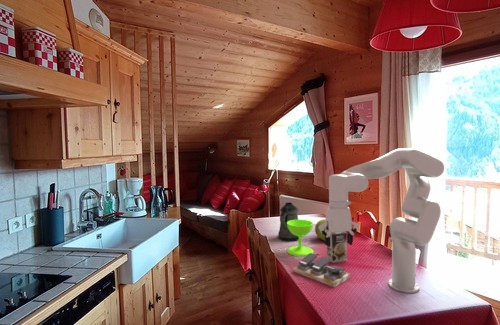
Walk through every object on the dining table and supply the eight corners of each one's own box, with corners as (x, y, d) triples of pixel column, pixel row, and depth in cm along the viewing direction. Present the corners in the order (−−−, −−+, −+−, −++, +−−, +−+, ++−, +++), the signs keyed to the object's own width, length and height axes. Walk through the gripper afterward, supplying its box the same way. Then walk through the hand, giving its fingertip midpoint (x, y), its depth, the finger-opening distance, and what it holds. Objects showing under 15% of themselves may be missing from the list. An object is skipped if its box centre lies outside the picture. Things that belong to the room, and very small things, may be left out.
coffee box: (332, 263, 162) (332, 234, 161) (326, 259, 168) (326, 231, 167) (347, 261, 165) (347, 232, 164) (340, 257, 171) (340, 229, 170)
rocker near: (336, 268, 147) (336, 265, 147) (344, 270, 144) (344, 268, 144) (325, 268, 141) (325, 266, 141) (333, 271, 137) (333, 269, 137)
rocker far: (310, 254, 159) (309, 252, 159) (317, 256, 156) (316, 254, 155) (299, 264, 153) (298, 262, 152) (306, 266, 149) (305, 264, 149)
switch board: (310, 263, 162) (309, 254, 162) (350, 277, 144) (349, 267, 144) (293, 271, 153) (293, 262, 152) (334, 287, 135) (334, 276, 135)
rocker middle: (322, 258, 153) (322, 256, 153) (330, 261, 150) (329, 258, 149) (311, 269, 147) (311, 266, 147) (319, 271, 143) (318, 269, 143)
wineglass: (313, 257, 171) (313, 226, 170) (286, 255, 175) (285, 226, 174) (313, 247, 187) (313, 219, 186) (288, 246, 190) (287, 219, 189)
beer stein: (300, 234, 215) (300, 200, 214) (303, 243, 196) (302, 206, 195) (278, 234, 217) (277, 200, 216) (278, 242, 198) (277, 206, 196)
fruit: (338, 244, 193) (327, 225, 191) (319, 248, 201) (308, 229, 199) (343, 230, 206) (333, 212, 204) (325, 234, 214) (315, 217, 212)
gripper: (353, 201, 126) (353, 240, 127) (315, 203, 124) (315, 243, 125) (362, 205, 119) (362, 246, 120) (322, 207, 116) (322, 249, 117)
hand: (338, 244), depth 122 cm, fingers open, 9 cm apart
